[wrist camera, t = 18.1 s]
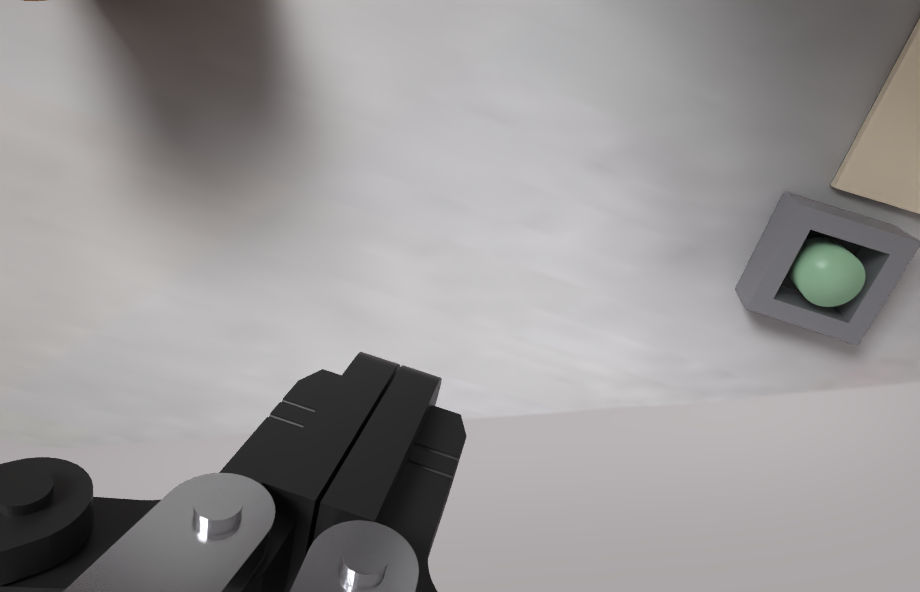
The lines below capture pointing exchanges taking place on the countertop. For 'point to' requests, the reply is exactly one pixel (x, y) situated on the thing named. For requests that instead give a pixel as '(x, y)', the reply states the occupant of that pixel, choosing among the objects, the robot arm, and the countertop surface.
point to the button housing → (780, 245)
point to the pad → (889, 139)
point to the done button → (826, 272)
